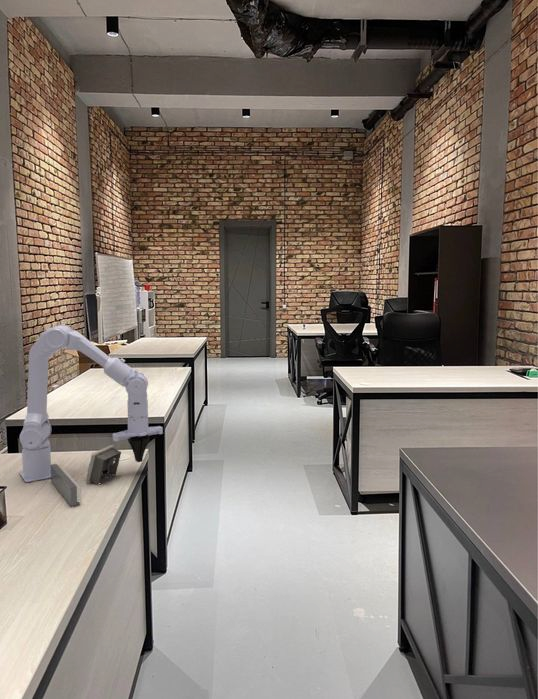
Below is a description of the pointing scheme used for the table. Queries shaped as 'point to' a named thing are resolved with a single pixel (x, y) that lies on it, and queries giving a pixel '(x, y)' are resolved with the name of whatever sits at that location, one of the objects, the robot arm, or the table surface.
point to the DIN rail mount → (65, 485)
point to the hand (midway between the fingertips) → (138, 460)
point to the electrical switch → (103, 465)
